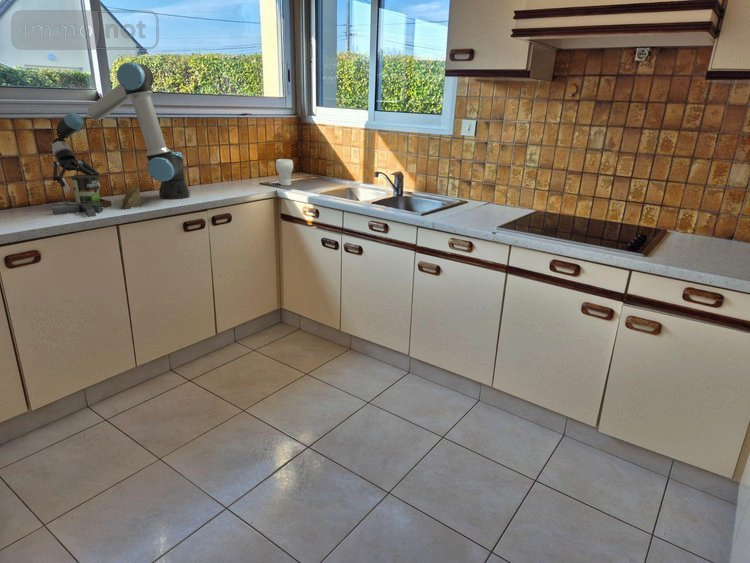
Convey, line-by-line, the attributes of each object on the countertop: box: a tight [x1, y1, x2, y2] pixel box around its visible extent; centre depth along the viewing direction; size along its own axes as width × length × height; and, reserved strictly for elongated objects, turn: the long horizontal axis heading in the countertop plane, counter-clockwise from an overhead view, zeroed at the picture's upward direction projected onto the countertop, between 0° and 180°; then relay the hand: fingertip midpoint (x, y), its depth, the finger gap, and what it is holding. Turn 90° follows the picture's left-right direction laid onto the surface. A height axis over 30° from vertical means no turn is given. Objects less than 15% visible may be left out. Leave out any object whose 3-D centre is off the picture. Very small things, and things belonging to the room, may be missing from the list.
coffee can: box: [70, 174, 100, 203], centre depth 232 cm, size 10×10×14 cm
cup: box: [275, 158, 294, 186], centre depth 309 cm, size 11×11×15 cm
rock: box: [120, 185, 142, 210], centre depth 234 cm, size 11×9×10 cm
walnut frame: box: [64, 198, 112, 208], centre depth 234 cm, size 14×14×2 cm
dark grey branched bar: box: [51, 202, 104, 218], centre depth 220 cm, size 11×20×4 cm, turn 85°
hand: (84, 189), depth 231 cm, fingers open, 13 cm apart
